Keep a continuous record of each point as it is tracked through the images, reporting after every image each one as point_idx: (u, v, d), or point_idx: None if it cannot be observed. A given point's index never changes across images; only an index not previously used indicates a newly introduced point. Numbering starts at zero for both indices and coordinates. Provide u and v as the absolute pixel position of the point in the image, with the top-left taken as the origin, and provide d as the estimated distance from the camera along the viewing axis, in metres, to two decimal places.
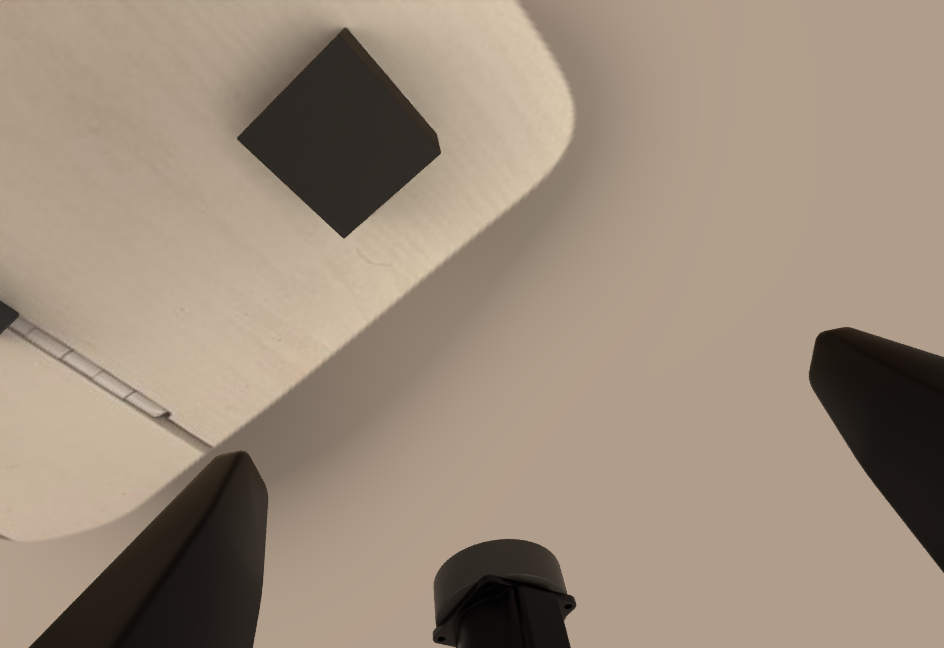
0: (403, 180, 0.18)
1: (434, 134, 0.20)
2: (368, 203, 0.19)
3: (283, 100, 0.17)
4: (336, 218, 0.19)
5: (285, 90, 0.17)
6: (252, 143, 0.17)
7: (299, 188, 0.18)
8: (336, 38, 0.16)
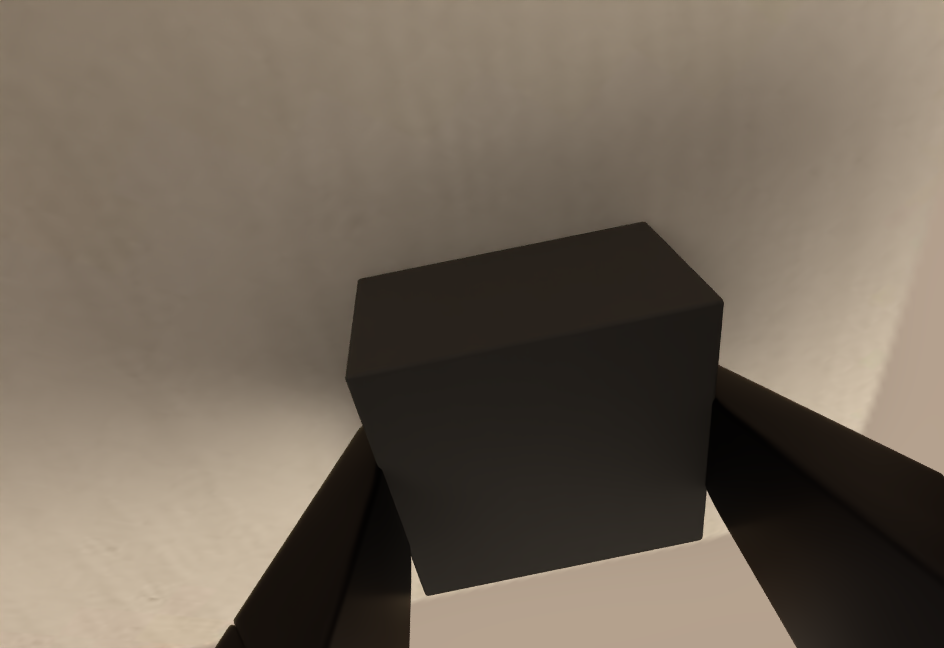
0: (608, 554, 0.09)
1: None
2: (518, 564, 0.09)
3: (511, 356, 0.07)
4: (440, 567, 0.08)
5: (530, 341, 0.06)
6: (375, 399, 0.07)
7: (408, 504, 0.08)
8: (714, 306, 0.06)
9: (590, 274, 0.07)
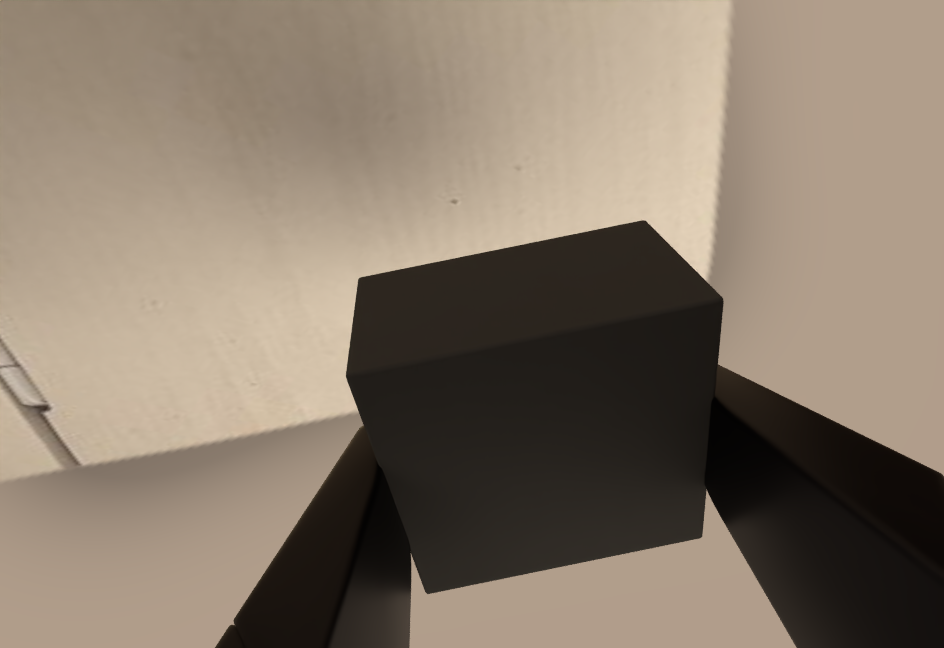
0: (608, 552, 0.09)
1: None
2: (518, 562, 0.09)
3: (511, 354, 0.07)
4: (440, 565, 0.09)
5: (530, 339, 0.07)
6: (375, 397, 0.07)
7: (408, 502, 0.08)
8: (714, 304, 0.06)
9: (590, 272, 0.07)
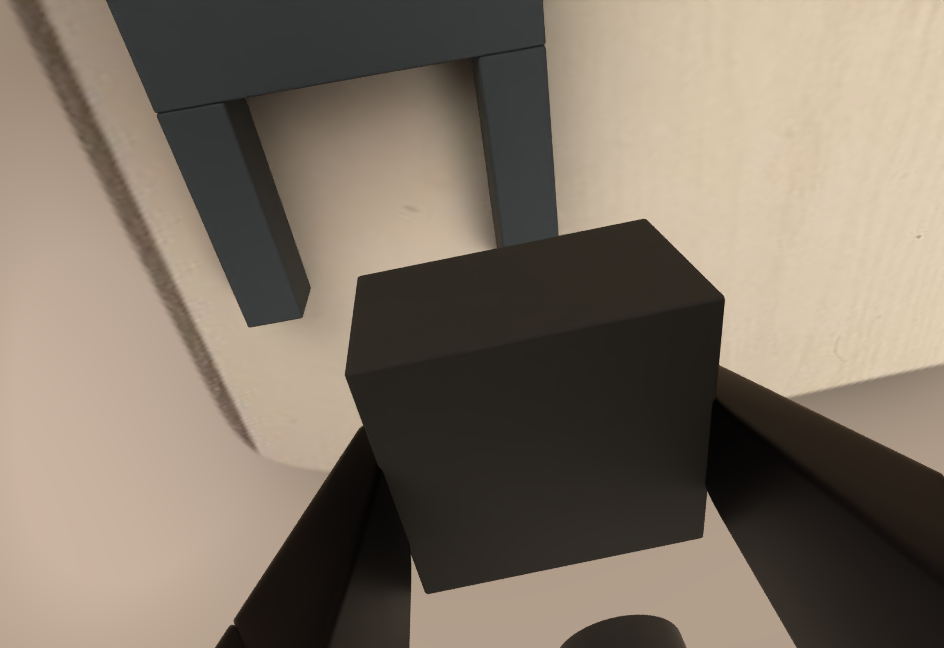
0: (609, 552, 0.09)
1: None
2: (518, 562, 0.09)
3: (511, 354, 0.07)
4: (440, 565, 0.08)
5: (531, 338, 0.06)
6: (374, 396, 0.07)
7: (408, 501, 0.08)
8: (715, 302, 0.06)
9: (590, 271, 0.07)
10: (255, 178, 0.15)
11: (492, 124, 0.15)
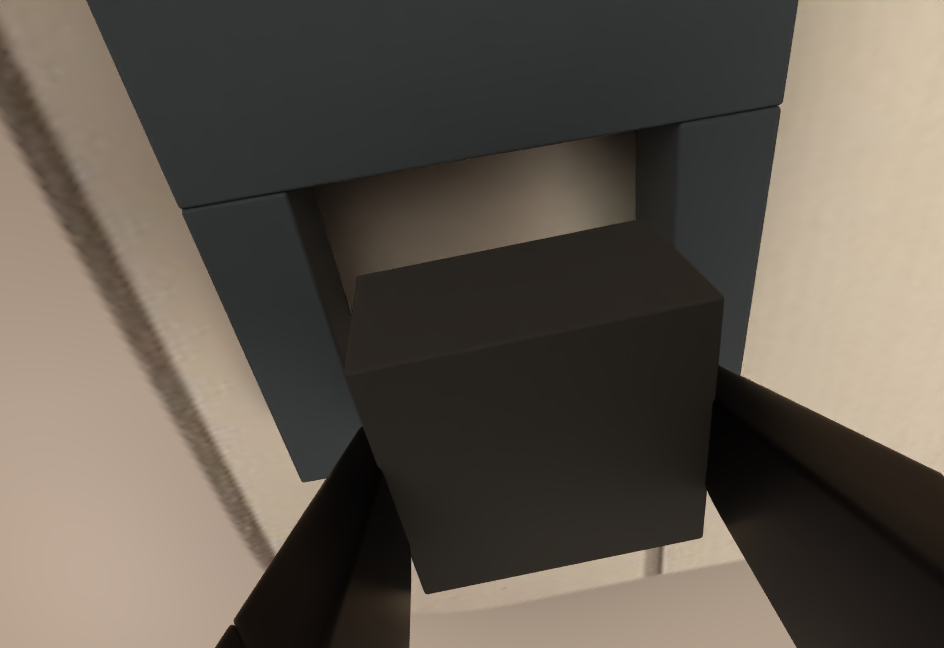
0: (608, 552, 0.09)
1: None
2: (517, 562, 0.09)
3: (510, 354, 0.07)
4: (439, 566, 0.08)
5: (530, 338, 0.06)
6: (373, 396, 0.07)
7: (408, 502, 0.08)
8: (715, 302, 0.06)
9: (590, 271, 0.07)
10: (324, 293, 0.10)
11: (681, 218, 0.10)
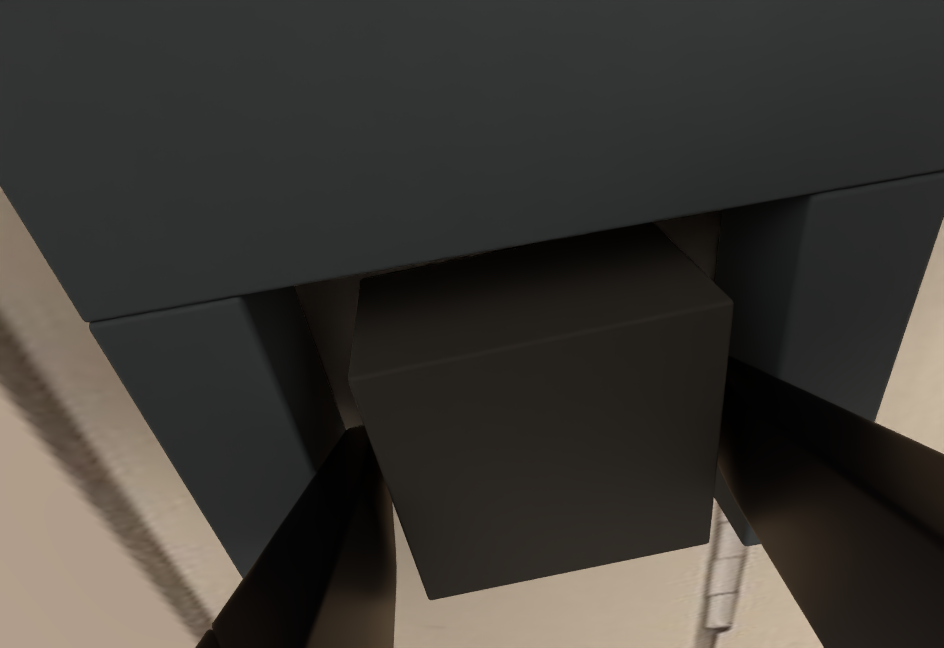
0: (614, 558, 0.09)
1: None
2: (522, 568, 0.09)
3: (517, 358, 0.06)
4: (444, 571, 0.08)
5: (536, 343, 0.06)
6: (378, 402, 0.07)
7: (412, 508, 0.08)
8: (724, 307, 0.06)
9: (596, 274, 0.07)
10: (302, 418, 0.08)
11: (799, 318, 0.07)
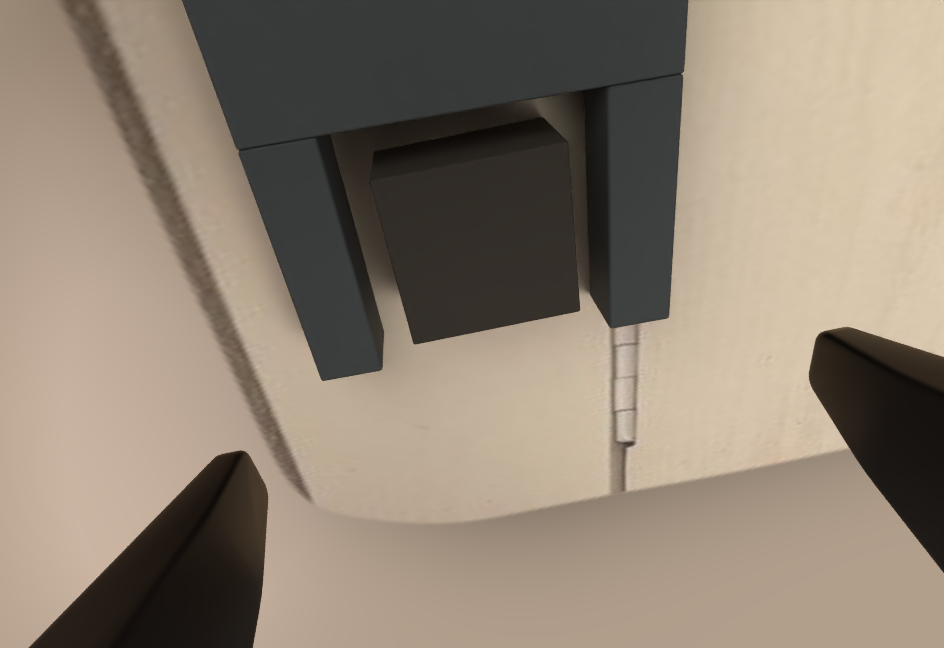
0: (523, 318, 0.15)
1: None
2: (468, 322, 0.15)
3: (456, 172, 0.12)
4: (422, 321, 0.14)
5: (466, 163, 0.12)
6: (385, 196, 0.13)
7: (403, 270, 0.14)
8: (562, 144, 0.12)
9: (504, 138, 0.13)
10: (342, 220, 0.14)
11: (614, 161, 0.13)
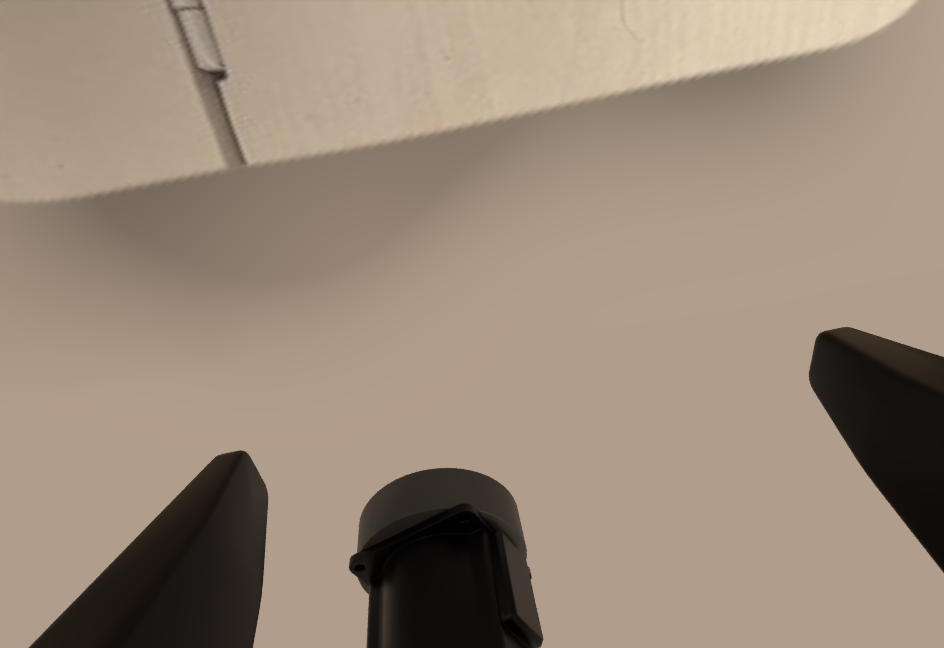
0: None
1: None
2: None
3: None
4: None
5: None
6: None
7: None
8: None
9: None
10: None
11: None
